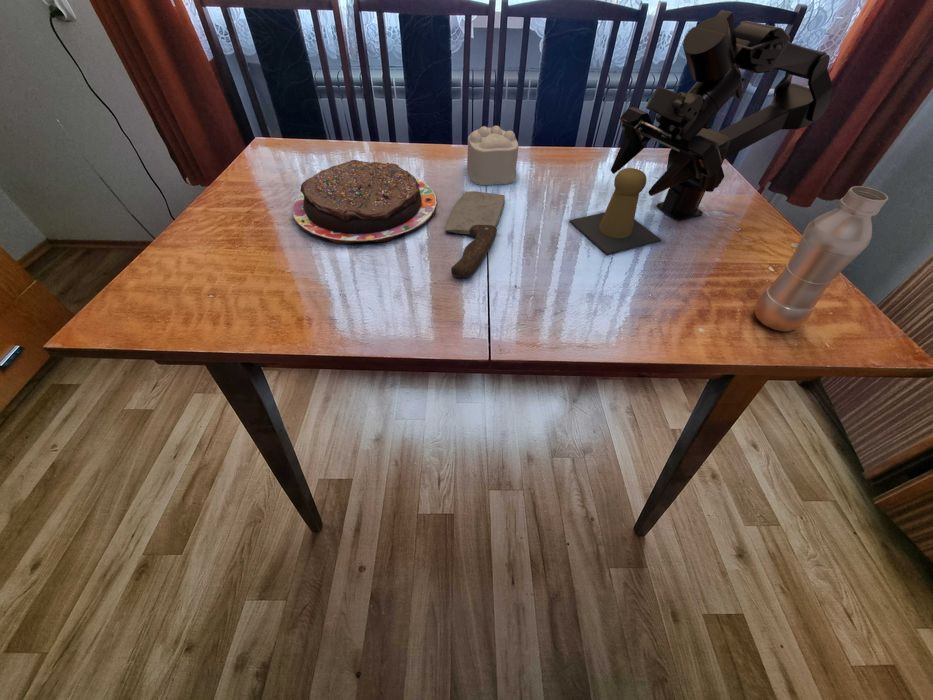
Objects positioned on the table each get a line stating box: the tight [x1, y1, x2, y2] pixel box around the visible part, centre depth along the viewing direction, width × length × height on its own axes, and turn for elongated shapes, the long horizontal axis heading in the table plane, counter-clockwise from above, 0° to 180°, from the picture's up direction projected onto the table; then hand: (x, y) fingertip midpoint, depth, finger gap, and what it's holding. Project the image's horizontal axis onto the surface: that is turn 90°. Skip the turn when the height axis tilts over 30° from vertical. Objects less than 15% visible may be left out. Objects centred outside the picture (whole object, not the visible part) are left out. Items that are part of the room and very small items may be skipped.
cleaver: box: [444, 190, 506, 279], centre depth 77 cm, size 29×10×2 cm, turn 169°
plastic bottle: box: [753, 185, 889, 332], centre depth 55 cm, size 6×7×20 cm
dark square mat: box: [569, 212, 662, 256], centre depth 79 cm, size 12×12×1 cm
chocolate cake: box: [291, 159, 438, 245], centre depth 81 cm, size 28×28×7 cm
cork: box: [599, 167, 648, 238], centre depth 74 cm, size 6×6×11 cm
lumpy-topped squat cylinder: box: [466, 125, 519, 186], centre depth 92 cm, size 10×13×9 cm
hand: (630, 182), depth 72 cm, fingers open, 9 cm apart
